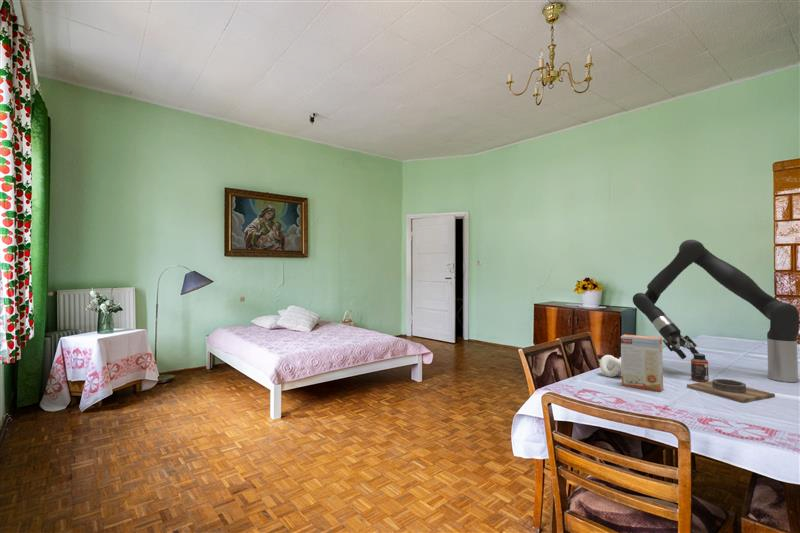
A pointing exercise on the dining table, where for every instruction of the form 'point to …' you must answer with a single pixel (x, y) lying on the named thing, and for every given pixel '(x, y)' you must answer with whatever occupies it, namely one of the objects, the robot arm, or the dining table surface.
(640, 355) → the cracker box
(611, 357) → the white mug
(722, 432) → the dining table surface
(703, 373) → the supplement bottle
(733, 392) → the collar plate
